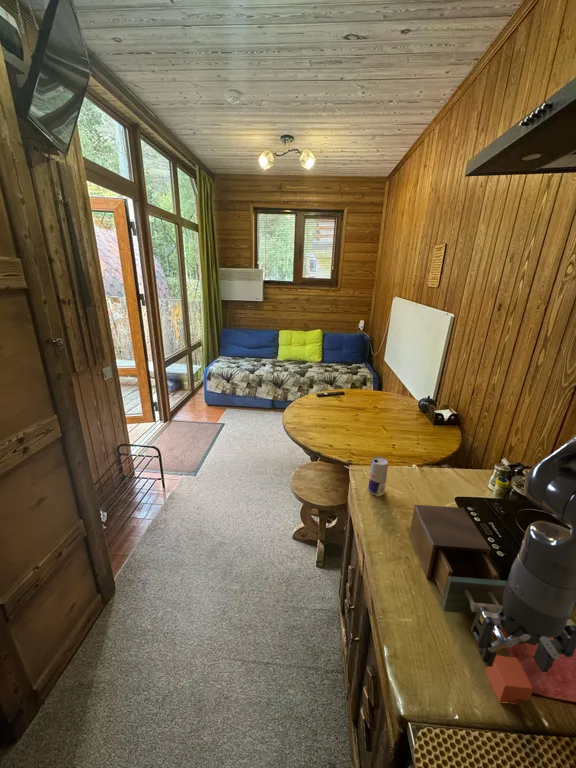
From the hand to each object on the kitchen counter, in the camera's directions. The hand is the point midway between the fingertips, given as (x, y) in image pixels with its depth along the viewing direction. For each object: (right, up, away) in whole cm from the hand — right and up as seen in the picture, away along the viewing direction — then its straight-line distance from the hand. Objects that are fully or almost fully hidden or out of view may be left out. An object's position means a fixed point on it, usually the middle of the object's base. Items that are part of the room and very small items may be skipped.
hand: (512, 663), depth 51 cm
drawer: (+1, 0, +17) cm, 17 cm away
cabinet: (+2, +2, +28) cm, 28 cm away
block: (0, -6, +2) cm, 6 cm away
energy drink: (-8, +10, +52) cm, 54 cm away
